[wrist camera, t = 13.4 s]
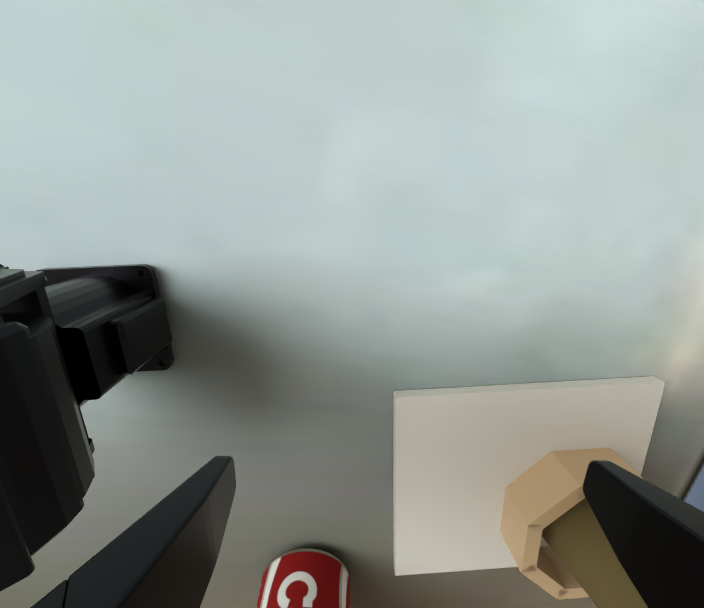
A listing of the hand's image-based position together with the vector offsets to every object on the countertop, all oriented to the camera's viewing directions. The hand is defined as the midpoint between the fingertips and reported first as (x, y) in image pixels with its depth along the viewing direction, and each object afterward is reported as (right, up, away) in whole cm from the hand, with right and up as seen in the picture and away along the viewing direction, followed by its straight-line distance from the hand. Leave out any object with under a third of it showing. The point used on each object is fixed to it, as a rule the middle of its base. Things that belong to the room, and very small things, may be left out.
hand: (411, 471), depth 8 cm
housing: (+11, -9, +17) cm, 22 cm away
